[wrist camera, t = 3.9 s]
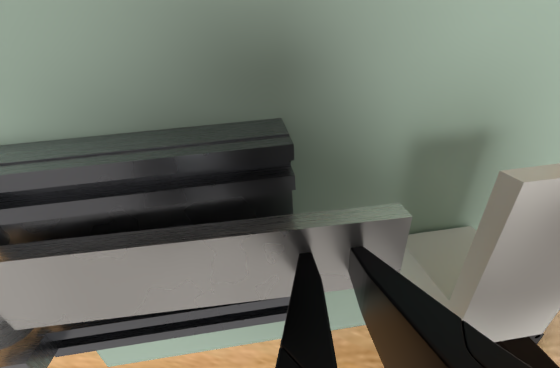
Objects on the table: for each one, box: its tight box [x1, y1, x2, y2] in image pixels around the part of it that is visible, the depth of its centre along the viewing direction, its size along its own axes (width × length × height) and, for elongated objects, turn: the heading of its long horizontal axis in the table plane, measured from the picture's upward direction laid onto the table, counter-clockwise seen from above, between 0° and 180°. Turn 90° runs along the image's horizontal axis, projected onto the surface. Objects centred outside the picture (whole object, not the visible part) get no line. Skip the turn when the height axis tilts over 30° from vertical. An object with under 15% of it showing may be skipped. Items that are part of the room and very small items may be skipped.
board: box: [0, 0, 560, 367], centre depth 12 cm, size 20×25×1 cm
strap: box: [0, 203, 412, 350], centre depth 9 cm, size 4×15×1 cm, turn 94°
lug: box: [400, 163, 560, 342], centre depth 11 cm, size 8×4×4 cm, turn 4°
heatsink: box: [0, 118, 296, 368], centre depth 9 cm, size 8×11×4 cm
